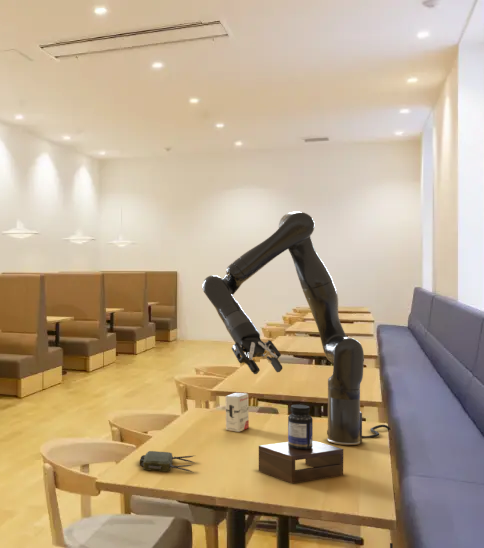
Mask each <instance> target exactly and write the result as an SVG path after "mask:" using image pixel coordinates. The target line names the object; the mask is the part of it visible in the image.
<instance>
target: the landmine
mask: <svg viewBox="0 0 484 548" xmlns="http://www.w3.org/2000/svg"><path fill="white" fill-rule="evenodd" d="M193 457H196V455H185V456H184V455H183V456H174V455H173V453H172V452H169V451H156V450H148V451H147V452H146V453H145V454H142V455H141V457H140V459H139V466H141V467H143V470H144V471H158V472H169V471H170V470H171V469H177V470H181V471H185V472H189V473H192V474H193V473H195V472H194V471H192V470H189V469H187V467H191V466H192V464H183V465H182V464H181V465H173V460H179V461H184V462H188V463H194V464H196V462H194V461H192V460H190V459H188V458H193ZM185 467H186V468H185Z"/></svg>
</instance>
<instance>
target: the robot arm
mask: <svg viewBox="0 0 484 548" xmlns="http://www.w3.org/2000/svg"><path fill="white" fill-rule="evenodd" d="M314 231H315V220H314V219H313V217H312V216H311V215H310V214H308V213H307V212H303V211H292V212H287V213H285V214H284V215H282V216H281V218H280V220H279V221H278V229H276V231H275V232H274V233H272V234H271V235H270V236H269V237H267V238H266V239H264V240H263V241H262V242H260V243H259V244H257V245H256V246H254V247H252V248H251V249H249V250H247V251H246V252H244V253H243V254H241V255H239V257H238V258H236V259H235V260H234V261H233V262H231V263H230V264H229V265H227V267H226V269H225V270H226V271H225V272H226V274H225V275H224V276H223V278H222V277H221V276H219V275H215V274H214V275H209V276H207V277H206V278H204V280H203V281H202V287H201V288H202V291H203V293H204V295H205V296H206V297H207V299H208V300H209V302H210V303H211V304H212V306H213V307H214V309H215V310H216V312H217V315H218V316H219V318H220V319H221V321H222V323H223V324H224V327H225V329H226V330H227V331H226V332H228V334H229V335H230V337H231V339H232V340H233V342H234V344H233V345H232V347H231V350H232V352H233V354H234V356H235V358H236V359H237V361H238V363H239V364H243V363H244V364H245V365H247V367H248V368H249V370H250V372H252V374H253V375H257V374H258V373H259V372H260V368H259V366H258V364H257V363H256V361H255V360H254V359H253V358H261V359H262V360H266V361H268V362H270V364H271V366H272V367H273V369H274V370H275V372H276V373H280V372H281V371H282V370H283V365H282V364H281V362H280V361H279V358H280V357H281V355H282V354H281V352H280V351H279V350H278V348H277V347H276V345H275V343H273V341H271V340H270V339H269V340H268V341H267V342H264V341H263V340H262V339H261V334H260V332H259V330H258V329H257V328H256V326H255V324H254V323H253V321H252V320H251V318H250V317H249V316H248V315H247V314H246V312H245V311H244V309H243V308H242V306H241V304H240V303H239V302H238V301H237V300H236V299H235V297H234V295H235V293H236V292H237V291H239V289H240V287H241V286H242V284H243V283H245V282H246V281H247V280H249V279H250V278H251V277H252V276H254V275H255V274H257V273H258V272H259V271H260V270H261V269H263V268H264V267H265V266H266V265H268V264H269V263H270V262H271V261H273V260H274V259H275V258H276V257H278V256H280V255H281V254H282V253H284V252H285V251H287V250H288V252H289V253H290V256H291V258H292V261H293V265H294V268H295V272H296V274H297V277H298V280H299V283H300V286H301V289H302V292H303V294H304V297H305V301H306V303H307V304H308V307H309V309H310V312H311V315H312V317H313V320H314V322H315V324H316V328H317V331H318V334H319V338H320V342H321V346H322V350H323V353H324V356H325V357H326V359H327V360H328V361H329V362H330V363H332V364H333V368H332V375H330V376H329V377H328V378H327V430H326V435H327V436H326V437H327V438H326V441H327V442H328V443H331V444H335V445H341V446H358V445H361V444H362V443H363V439H372V438H376V437H379V436H380V432H379V431H377V429H379V428H385V429H387V430H389V431H390V430H391V427H390V426H389V425H386V424H377V425H375V426H373V427H370V432H371V433H373V434H371V435H363V413H362V412H361V384H362V381H363V378H364V365H365V362H364V361H365V355H364V354H365V353H364V348H363V346H362V344H361V342H360V341H359V340H357V339H356V338H353V337H349V336H347V334H346V332H345V330H344V328H343V326H342V323H341V320H340V317H339V296H338V291H337V288H336V286H335V283H334V281H333V278H332V276H331V274H330V272H329V270H328V269H327V266H326V265H325V264H324V262H323V261H322V259H321V258H320V257H319V255H318V253H317V251H316V249H315V247H314V244H313V240H312V237H311V236H312V235H313V233H314ZM265 352H266V353H265ZM389 548H394V544H393V542H389Z"/></svg>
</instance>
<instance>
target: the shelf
mask: <svg viewBox="0 0 484 548" xmlns="http://www.w3.org/2000/svg"><path fill="white" fill-rule="evenodd" d="M312 442H313V443H312V448H310V449H304V450H301V449H295V448H291V447H289V445H288V441H283V442H277V443H268V444H260V445H258V472H260V473H261V474H262V473H263V474H266V475H268V476H270V477H274V478H276V479H279V480H281V481H284V482H286V483H290V484H296V483H303V482H309V481H310V482H311V481H315V480H321V479H328V478H334V477H340V476H344V448H342V447H338V446H334V445H331V444H328V443H323V442H320V441H317V440H313V441H312ZM301 460H305V461H304V463H305V465H306V466H310V467H307V468H306V467H305V468H299V469H296V461H301Z"/></svg>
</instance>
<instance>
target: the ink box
mask: <svg viewBox="0 0 484 548" xmlns="http://www.w3.org/2000/svg"><path fill="white" fill-rule="evenodd" d="M249 411H250V410H249V393H248V392H247V393H246V392H234V393H231V394H228V395H225V430H226V431H230V432H237V433H240V432H242V431H244V430H246V429H248V428H249V427H250V425H249V423H250V420H249V419H250V417H249V416H250V414H249V413H250V412H249Z"/></svg>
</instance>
